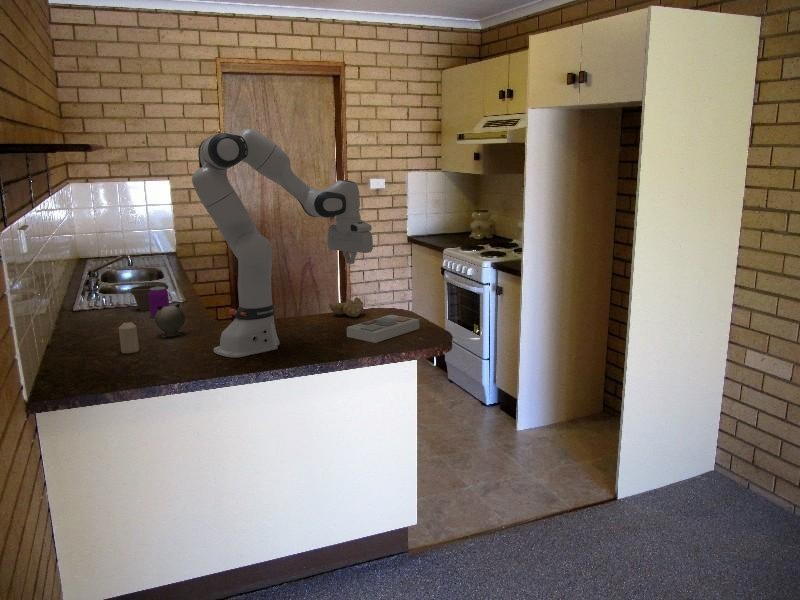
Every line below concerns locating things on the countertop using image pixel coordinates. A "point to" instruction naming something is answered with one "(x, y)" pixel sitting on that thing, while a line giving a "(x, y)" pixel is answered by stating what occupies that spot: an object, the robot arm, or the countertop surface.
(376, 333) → the keypad
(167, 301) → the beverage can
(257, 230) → the robot arm
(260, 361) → the countertop surface
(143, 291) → the flower pot
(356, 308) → the ginger root
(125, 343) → the candle
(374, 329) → the sage key
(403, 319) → the terracotta key
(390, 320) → the grey key
